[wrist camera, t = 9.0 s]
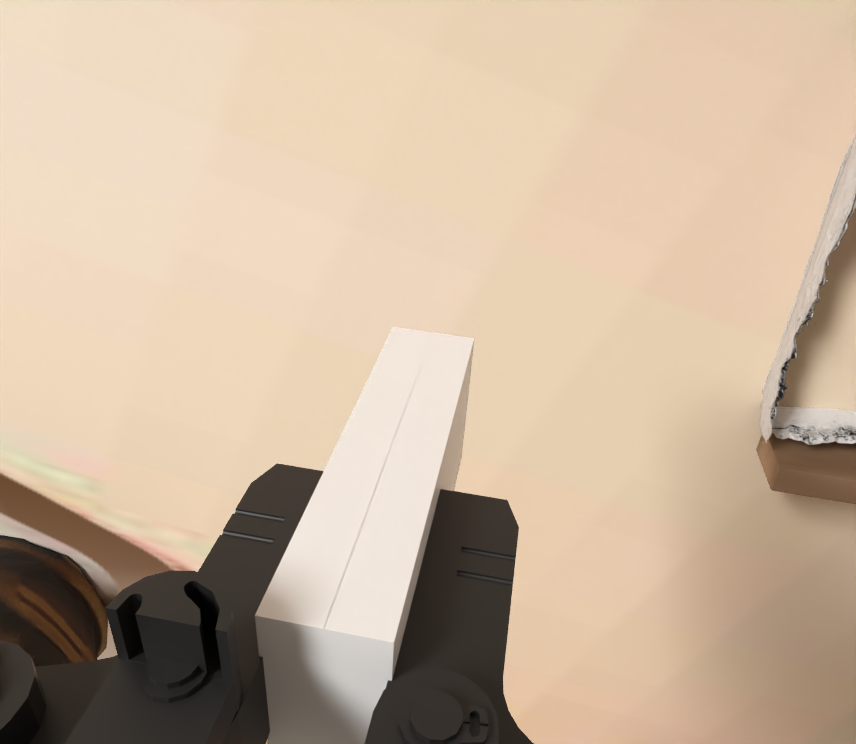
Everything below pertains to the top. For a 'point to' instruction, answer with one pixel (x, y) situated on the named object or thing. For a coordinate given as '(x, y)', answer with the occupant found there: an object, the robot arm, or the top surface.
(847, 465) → the walnut holder
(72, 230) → the top surface
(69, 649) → the ceramic jug
